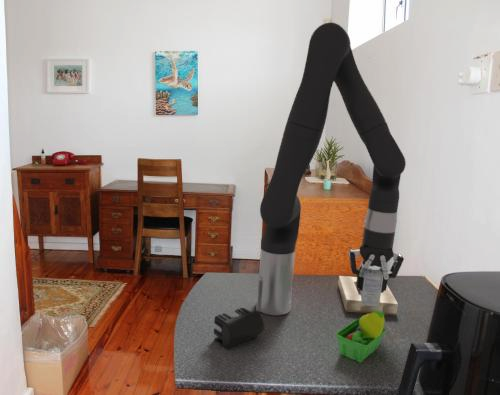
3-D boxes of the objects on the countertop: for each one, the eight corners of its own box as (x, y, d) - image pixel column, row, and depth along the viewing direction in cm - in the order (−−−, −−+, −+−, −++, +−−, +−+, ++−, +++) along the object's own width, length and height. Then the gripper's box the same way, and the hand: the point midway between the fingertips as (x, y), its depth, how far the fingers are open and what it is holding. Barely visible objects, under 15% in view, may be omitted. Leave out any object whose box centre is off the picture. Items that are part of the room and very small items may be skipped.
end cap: (229, 354, 102) (231, 326, 101) (211, 340, 108) (213, 314, 106) (263, 341, 108) (265, 315, 107) (244, 329, 114) (246, 304, 112)
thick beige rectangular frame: (345, 311, 127) (346, 299, 126) (338, 286, 144) (339, 275, 144) (396, 315, 126) (398, 304, 125) (382, 289, 144) (384, 279, 143)
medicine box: (379, 308, 114) (383, 275, 112) (360, 305, 115) (365, 273, 113) (376, 295, 122) (381, 265, 120) (359, 292, 123) (364, 262, 121)
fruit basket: (355, 336, 113) (360, 294, 111) (389, 350, 108) (395, 306, 105) (332, 354, 105) (337, 308, 102) (368, 370, 99) (374, 322, 97)
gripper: (353, 228, 111) (344, 293, 115) (412, 234, 110) (402, 299, 114) (349, 220, 118) (341, 281, 122) (404, 225, 118) (395, 287, 121)
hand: (370, 290), depth 118 cm, fingers closed on medicine box, 4 cm apart
